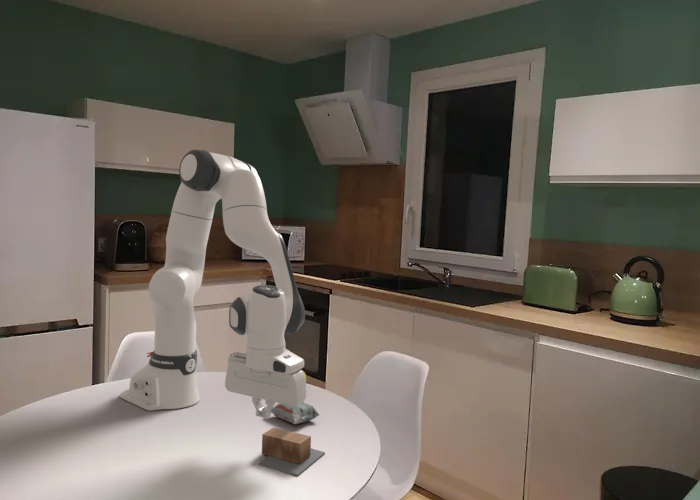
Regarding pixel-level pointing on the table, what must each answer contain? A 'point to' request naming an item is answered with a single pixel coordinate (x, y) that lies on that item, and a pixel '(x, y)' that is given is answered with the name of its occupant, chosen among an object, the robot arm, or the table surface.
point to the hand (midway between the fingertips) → (263, 416)
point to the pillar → (286, 445)
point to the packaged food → (295, 412)
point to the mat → (291, 463)
